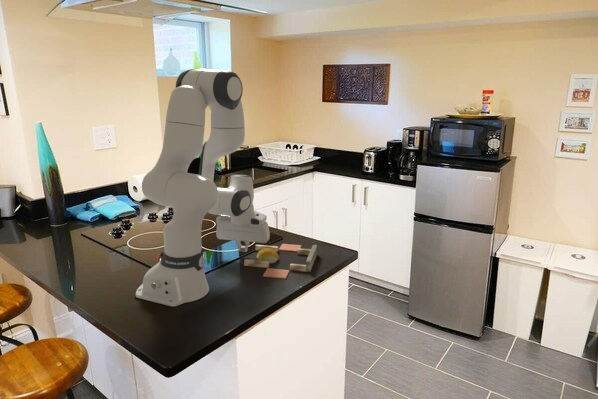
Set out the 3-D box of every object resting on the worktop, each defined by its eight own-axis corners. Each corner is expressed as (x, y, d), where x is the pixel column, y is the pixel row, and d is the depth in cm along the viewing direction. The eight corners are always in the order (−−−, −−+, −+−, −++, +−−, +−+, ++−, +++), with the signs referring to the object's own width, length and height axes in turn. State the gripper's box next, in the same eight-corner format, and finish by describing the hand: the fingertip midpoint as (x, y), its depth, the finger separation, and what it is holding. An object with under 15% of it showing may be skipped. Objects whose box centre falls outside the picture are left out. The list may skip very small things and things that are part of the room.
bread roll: (276, 253, 163) (276, 244, 162) (280, 263, 154) (280, 253, 153) (255, 255, 161) (254, 245, 160) (258, 265, 153) (257, 255, 152)
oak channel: (244, 265, 152) (244, 255, 151) (256, 249, 166) (256, 239, 165) (310, 271, 147) (310, 261, 146) (316, 254, 162) (317, 245, 161)
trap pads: (263, 276, 144) (263, 275, 143) (282, 244, 171) (282, 243, 171) (285, 278, 142) (285, 277, 142) (301, 246, 170) (301, 245, 170)
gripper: (212, 217, 154) (214, 251, 158) (266, 221, 150) (266, 256, 154) (219, 212, 160) (220, 245, 164) (270, 215, 156) (270, 250, 160)
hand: (243, 251), depth 159 cm, fingers closed
